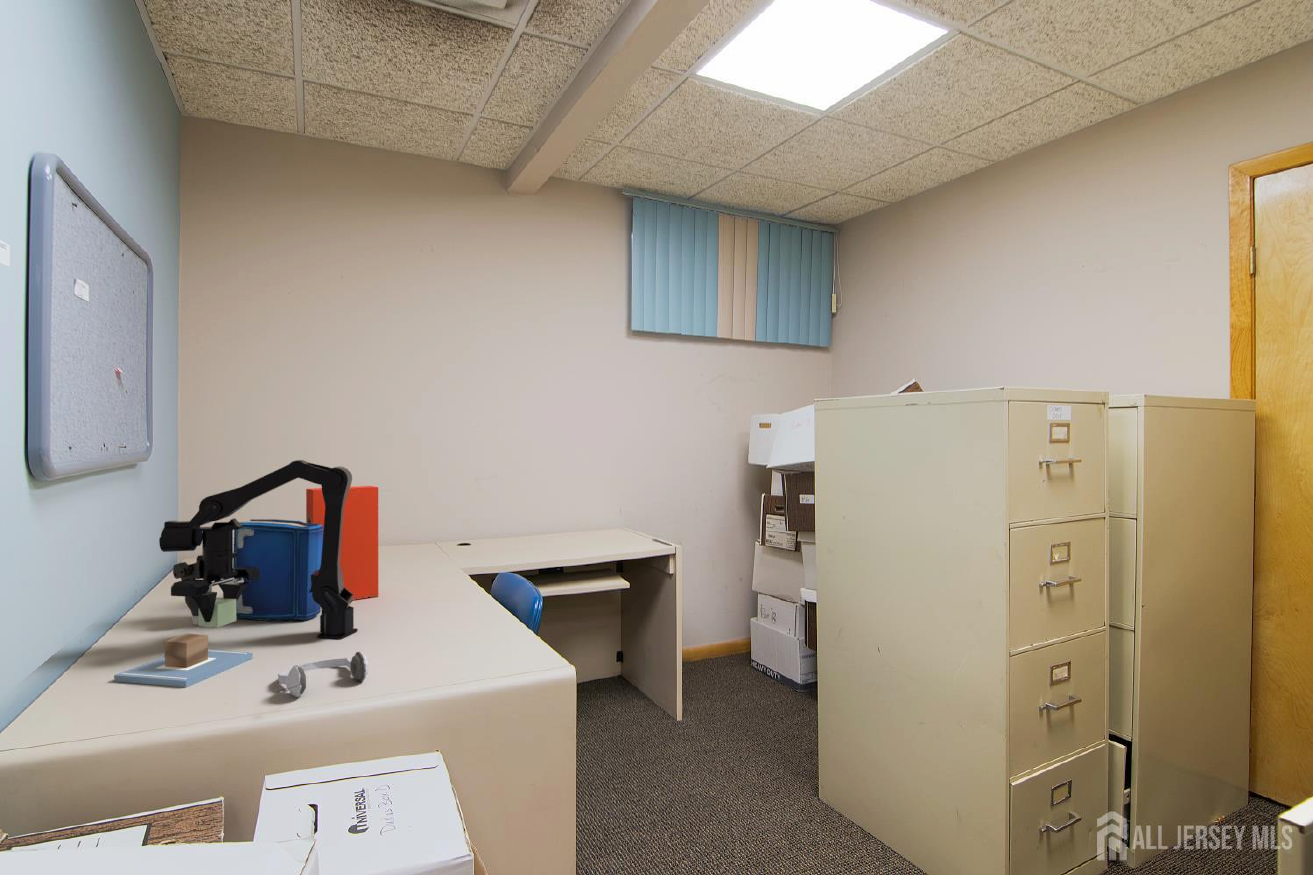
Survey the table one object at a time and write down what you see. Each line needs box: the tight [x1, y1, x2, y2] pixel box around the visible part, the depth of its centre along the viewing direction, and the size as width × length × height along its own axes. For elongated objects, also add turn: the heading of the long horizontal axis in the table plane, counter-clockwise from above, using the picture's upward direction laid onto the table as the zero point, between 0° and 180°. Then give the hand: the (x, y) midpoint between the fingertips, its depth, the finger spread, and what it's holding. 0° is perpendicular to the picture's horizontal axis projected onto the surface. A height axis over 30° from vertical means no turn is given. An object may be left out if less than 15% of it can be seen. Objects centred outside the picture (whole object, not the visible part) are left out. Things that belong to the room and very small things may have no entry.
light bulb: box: [184, 597, 200, 627], centre depth 161 cm, size 6×6×10 cm
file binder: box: [305, 485, 379, 601], centre depth 188 cm, size 8×17×32 cm, turn 131°
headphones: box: [276, 651, 370, 699], centre depth 124 cm, size 17×6×20 cm
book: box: [233, 518, 323, 622], centre depth 169 cm, size 22×7×25 cm, turn 84°
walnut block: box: [164, 633, 209, 668], centre depth 132 cm, size 5×5×5 cm
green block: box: [198, 597, 237, 628], centre depth 148 cm, size 5×5×5 cm
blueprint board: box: [113, 649, 254, 688], centre depth 132 cm, size 16×16×1 cm
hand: (217, 618), depth 148 cm, fingers closed on green block, 5 cm apart
